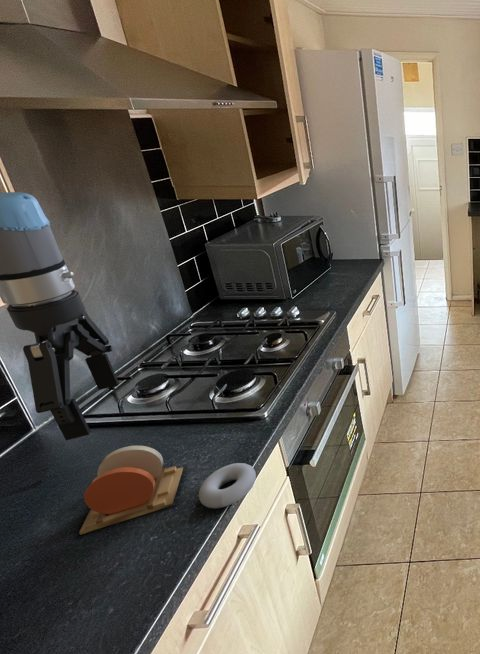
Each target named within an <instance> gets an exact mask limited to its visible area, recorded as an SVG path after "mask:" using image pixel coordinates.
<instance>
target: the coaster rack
mask: <svg viewBox="0 0 480 654" xmlns="http://www.w3.org/2000/svg"><path fill="white" fill-rule="evenodd" d="M183 469H184V467H183V466H182V467H177V466H176V465H174V466H170V467H162V470H161V472H160V474H159V475H158V477H157V478H156V479H155V488H154V491H153V494H152V496H151V497H150V499H149V500H148V501H147V502H146V503H145V504H143V505H142V506H139V507H136V508H132V509H129V510H126V511H123V512H120V513H116V514H103V513H99V512H96V511H94V510H92V509H90V510H89V512H88V514H87V515H86V518H85V520H84V521H83V524H82V526H81V528H80V530H79V532H78V534H79V535H80V536H81V535H84V534H87V533H91V532H94V531H97V530H100V529H102V528H107V527H109V526H113V525H116V524H118V523H121V522H126V521H128V520H131V519H134V518H137V517H140V516H143V515H146V514H151V513H153V512H157V511H159V510H162V509H166V508H168V507H173V505H174V501H175V498H176V494H177V491H178V487H179V484H180V481H181V477H182V474H183V471H184V470H183Z"/></svg>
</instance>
